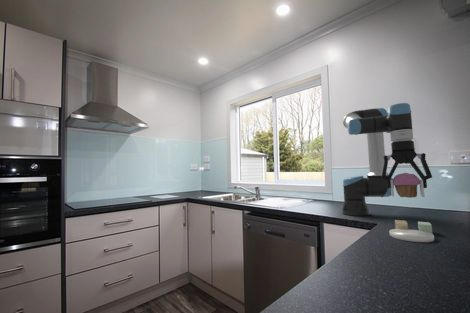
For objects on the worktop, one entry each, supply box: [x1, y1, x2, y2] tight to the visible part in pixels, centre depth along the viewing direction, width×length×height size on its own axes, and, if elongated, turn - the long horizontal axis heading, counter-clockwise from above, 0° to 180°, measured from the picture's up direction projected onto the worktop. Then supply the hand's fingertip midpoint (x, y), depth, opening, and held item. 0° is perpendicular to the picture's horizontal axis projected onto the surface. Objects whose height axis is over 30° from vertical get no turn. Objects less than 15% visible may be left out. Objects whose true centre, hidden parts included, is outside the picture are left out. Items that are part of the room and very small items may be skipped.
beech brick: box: [394, 219, 409, 229], centre depth 98 cm, size 6×4×4 cm, turn 149°
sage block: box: [417, 221, 433, 234], centre depth 94 cm, size 6×4×4 cm, turn 144°
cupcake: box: [393, 172, 421, 199], centre depth 91 cm, size 9×9×10 cm
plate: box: [388, 228, 435, 243], centre depth 89 cm, size 14×14×2 cm
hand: (407, 196), depth 90 cm, fingers closed on cupcake, 9 cm apart
